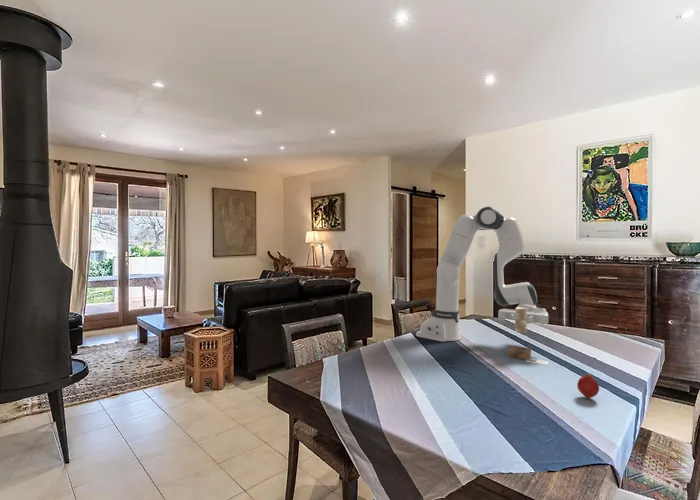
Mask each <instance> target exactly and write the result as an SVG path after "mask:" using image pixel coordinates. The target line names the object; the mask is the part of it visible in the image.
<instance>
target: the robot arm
mask: <svg viewBox="0 0 700 500" xmlns="http://www.w3.org/2000/svg"><path fill="white" fill-rule="evenodd" d="M490 230H491V231H494V232H495V234H496V236H497V240H498V250H497V252H496V253H495V255H494V257H493V268H494V269H493V273H494V275H493V276H494V291H493V292H494V300H495V303H496V304H498V305H500V306H501V307H507V306H511V305H517V304H518V305H517V306H516V307H522V308H527V317H526V321H527V325H528V324H549V313H548V312H547V309H546V308H543V307H538V306H537V303H538V293H537V290H536V288H535V286H534V285H533V284H532V283H530V282H528V281H525V282H519V283H518V282H517V283H513V284H512V283H511V284H505V279H504V278H505V277H504V274H505V273H504V268H505V266H506V265H507V264H508V263H509V262H511V261H512V260H514V259H516V258H518V257H519V256H520V255H521V254H523V252H524V250H525V241H524V236H523V233H522V230H521V228H520V224H519V223H518V220H517V219H516V218H514V217H511V216H510V217H509V216H507V217H504V216H503V214H501V212H500V211H498V210H497V208H495V207H492V206H485V207H481V208H480V209H479V210H478V211H477V213H476V214H475V215H469V214H462V215H459V218H458V219H457V221H456V222H455V223H454V226H453V228H452V230H451V233H450V235H449V238H448V239H447V243H446V246H445V247H444V250H443V253H442V255H441V258H440V259H439V262H438V265H437V268H436V292H435V293H436V296H435V297H436V298H435V301H436V303H435V308H434V309H433V310H431V316H430V317H428V318H427V319H425V321H423V322H422V324H420V330H418V331H416V333H415V336H416V337H419V338H423V339H428V340H431V341H432V340H433V341H438V342H450V341H451V342H454V341H460V340H461V339H462V336H461V332H460V326H459V322H460V310H459V299H460V298H459V296H460V295H459V293H460V283H461V282H460V280H461V269H462V266H463V263H464V261H465V260H466V258H467V256H468V253H469V250H470V248H471V245H472V243H473V240H474V237H475V235H476V233H477V232H478V231H490ZM516 307H515V308H514V309H512V308H511V309H510V308H501V309H498V313H497V316H498V319H502V320H513V321H515V313H516Z"/></svg>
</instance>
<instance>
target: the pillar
mask: <svg viewBox="0 0 700 500" xmlns="http://www.w3.org/2000/svg"><path fill="white" fill-rule="evenodd" d="M515 308H516V313H515V320H514V322H515V323H514V333H515V332H516V333H523V334H526V333H527V327H528V326H527V325H528V324H527V321H526V317H527V308H522V307H517V306H516V307H515Z"/></svg>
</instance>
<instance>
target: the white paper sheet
mask: <svg viewBox="0 0 700 500" xmlns="http://www.w3.org/2000/svg"><path fill="white" fill-rule="evenodd" d="M525 362H526V363H530V362H531V364H536V363H537V364H538V365H544V366H548V365H549V361H548V360H547V361H546V360H540V359H535V358H530V359H529V360H525Z"/></svg>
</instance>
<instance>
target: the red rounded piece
mask: <svg viewBox="0 0 700 500" xmlns="http://www.w3.org/2000/svg"><path fill="white" fill-rule="evenodd" d="M591 375H592V374H590V373H586V374H585V375H584V376H581V377H580V378H579V379H578V381H577V385H576V386H577V390H578V391H579V392H580V393H581V394H582V395H583V397H584V398H586V399H591V398H594V397H596V396H597V395H598V394H599V392H600V386H599V383H598V382H597V380H596V378H594V377H593V376H591Z"/></svg>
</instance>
